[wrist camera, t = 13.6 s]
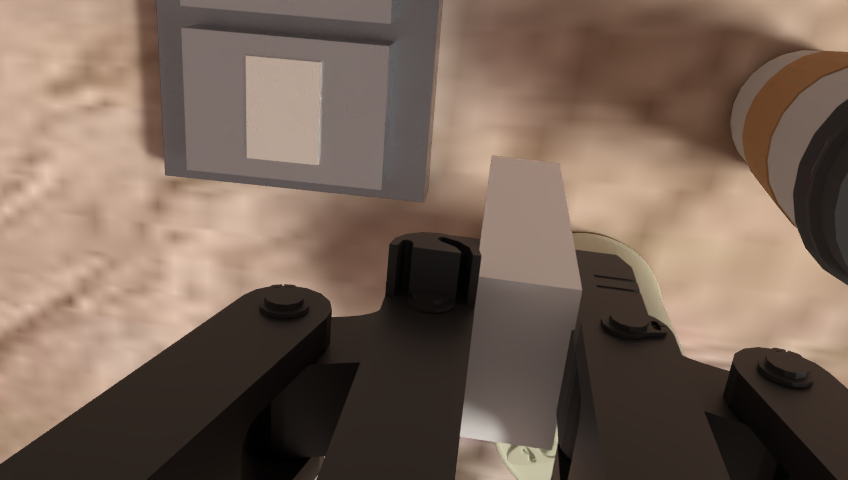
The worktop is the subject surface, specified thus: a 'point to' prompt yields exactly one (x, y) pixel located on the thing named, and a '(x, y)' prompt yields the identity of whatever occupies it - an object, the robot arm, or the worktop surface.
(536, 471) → the can
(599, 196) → the worktop surface
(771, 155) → the coffee cup
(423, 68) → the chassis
